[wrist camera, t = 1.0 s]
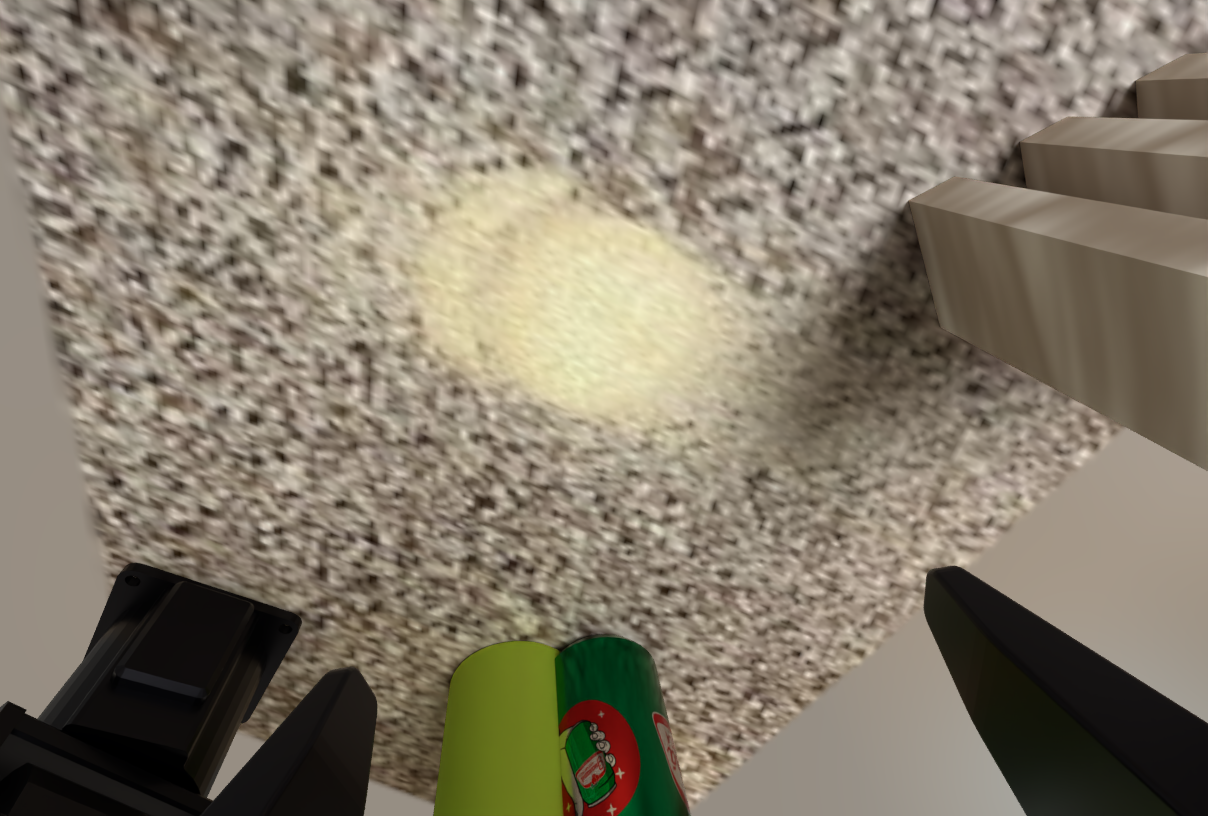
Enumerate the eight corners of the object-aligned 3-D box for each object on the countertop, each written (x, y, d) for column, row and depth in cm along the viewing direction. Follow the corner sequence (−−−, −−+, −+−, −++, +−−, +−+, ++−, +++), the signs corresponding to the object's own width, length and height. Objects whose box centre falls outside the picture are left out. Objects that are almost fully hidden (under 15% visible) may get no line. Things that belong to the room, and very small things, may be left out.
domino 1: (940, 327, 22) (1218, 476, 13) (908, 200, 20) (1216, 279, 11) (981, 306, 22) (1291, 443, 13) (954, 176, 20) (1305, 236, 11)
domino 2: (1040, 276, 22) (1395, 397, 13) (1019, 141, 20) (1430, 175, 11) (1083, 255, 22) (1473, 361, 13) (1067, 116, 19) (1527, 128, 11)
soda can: (643, 704, 29) (711, 1046, 19) (538, 704, 29) (547, 1063, 18) (663, 627, 27) (752, 963, 17) (550, 625, 26) (568, 978, 16)
